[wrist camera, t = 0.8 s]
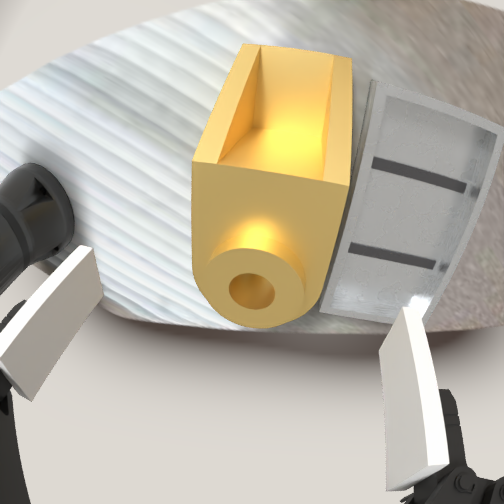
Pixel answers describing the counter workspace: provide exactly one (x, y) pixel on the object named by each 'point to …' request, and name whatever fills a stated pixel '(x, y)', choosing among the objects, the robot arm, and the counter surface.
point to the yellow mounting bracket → (271, 183)
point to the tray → (408, 204)
